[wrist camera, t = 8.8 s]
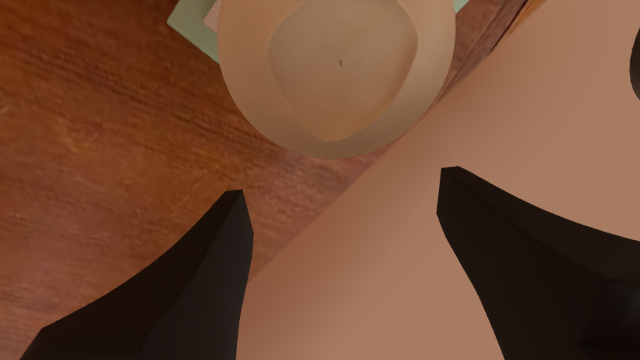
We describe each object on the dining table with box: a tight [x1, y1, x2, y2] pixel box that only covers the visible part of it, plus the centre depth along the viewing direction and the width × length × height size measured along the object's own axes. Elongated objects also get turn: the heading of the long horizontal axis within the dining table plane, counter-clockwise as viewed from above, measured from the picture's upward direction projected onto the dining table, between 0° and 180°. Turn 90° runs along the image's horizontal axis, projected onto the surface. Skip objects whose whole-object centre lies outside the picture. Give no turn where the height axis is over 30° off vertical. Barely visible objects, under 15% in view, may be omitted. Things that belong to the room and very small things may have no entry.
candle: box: [217, 0, 456, 159], centre depth 11 cm, size 6×6×10 cm
